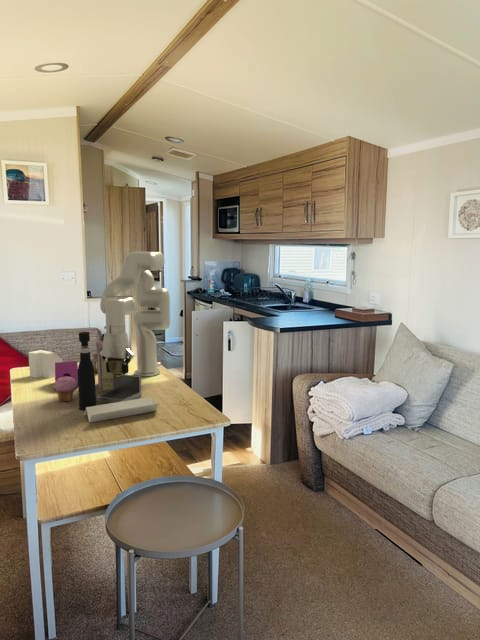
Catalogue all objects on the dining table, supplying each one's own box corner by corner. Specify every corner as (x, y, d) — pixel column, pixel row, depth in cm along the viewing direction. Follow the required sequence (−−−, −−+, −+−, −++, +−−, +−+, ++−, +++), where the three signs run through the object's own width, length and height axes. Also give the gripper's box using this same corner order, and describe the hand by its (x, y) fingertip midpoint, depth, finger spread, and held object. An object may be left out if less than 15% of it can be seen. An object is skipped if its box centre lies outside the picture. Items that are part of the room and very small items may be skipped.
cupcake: (52, 404, 193) (51, 379, 192) (57, 397, 202) (56, 374, 200) (75, 403, 194) (74, 379, 193) (79, 396, 203) (78, 373, 201)
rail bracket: (115, 393, 206) (114, 373, 205) (141, 397, 202) (140, 376, 200) (95, 402, 194) (94, 381, 193) (122, 406, 190) (121, 384, 188)
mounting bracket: (79, 402, 215) (78, 375, 229) (79, 387, 210) (77, 361, 224) (56, 404, 212) (56, 377, 226) (55, 389, 207) (54, 362, 221)
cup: (130, 377, 196) (129, 357, 195) (114, 380, 191) (114, 360, 190) (120, 373, 201) (119, 355, 200) (104, 377, 196) (103, 358, 195)
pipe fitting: (111, 371, 242) (108, 351, 241) (95, 374, 238) (92, 354, 237) (104, 368, 252) (101, 349, 251) (89, 372, 248) (86, 352, 247)
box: (98, 384, 221) (96, 341, 218) (118, 382, 224) (116, 339, 221) (101, 394, 206) (99, 348, 203) (123, 392, 209) (121, 346, 206)
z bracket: (87, 430, 177) (84, 415, 180) (152, 418, 190) (148, 404, 193) (91, 415, 169) (88, 399, 172) (159, 403, 181) (155, 389, 184)
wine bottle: (80, 412, 184) (76, 334, 179) (78, 407, 189) (73, 332, 185) (98, 409, 187) (94, 333, 182) (94, 404, 192) (91, 330, 188)
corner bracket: (30, 376, 235) (28, 352, 233) (50, 371, 244) (49, 348, 242) (43, 379, 229) (41, 355, 227) (63, 374, 238) (62, 350, 236)
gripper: (92, 329, 193) (94, 372, 196) (128, 332, 187) (130, 376, 189) (103, 326, 200) (105, 368, 203) (139, 329, 194) (140, 372, 196)
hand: (117, 372), depth 196 cm, fingers closed on cup, 7 cm apart
